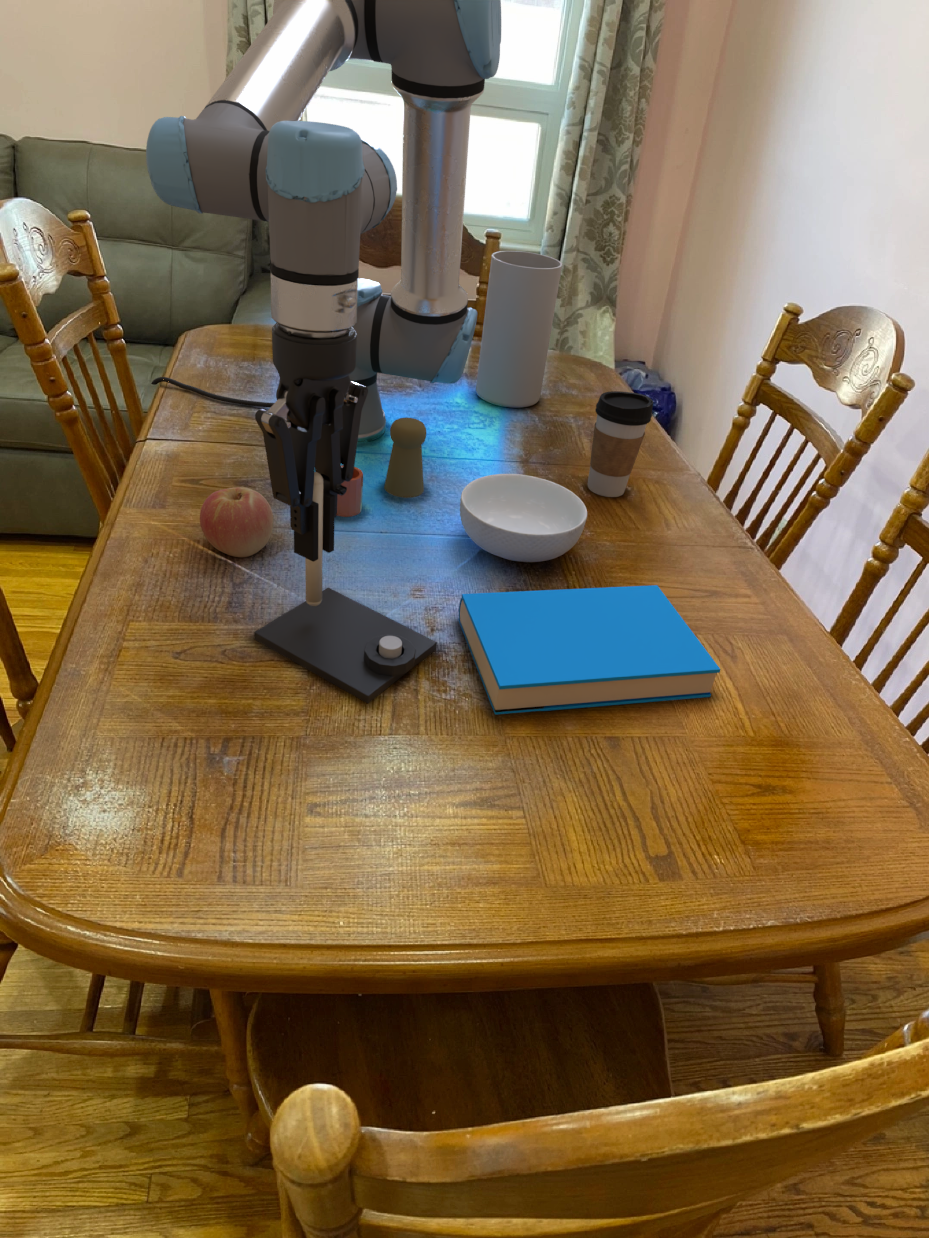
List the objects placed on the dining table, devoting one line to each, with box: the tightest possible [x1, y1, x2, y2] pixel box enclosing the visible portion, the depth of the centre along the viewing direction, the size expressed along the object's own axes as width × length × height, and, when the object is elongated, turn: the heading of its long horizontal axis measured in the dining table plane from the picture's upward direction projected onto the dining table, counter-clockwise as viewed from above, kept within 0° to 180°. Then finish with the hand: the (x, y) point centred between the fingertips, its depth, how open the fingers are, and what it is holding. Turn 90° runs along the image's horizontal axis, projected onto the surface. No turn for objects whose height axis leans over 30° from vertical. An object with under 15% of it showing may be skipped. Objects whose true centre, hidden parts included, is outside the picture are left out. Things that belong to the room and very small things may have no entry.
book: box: [458, 584, 721, 715], centre depth 93 cm, size 17×4×25 cm
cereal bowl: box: [459, 473, 588, 563], centre depth 110 cm, size 17×17×7 cm
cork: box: [384, 417, 427, 499], centre depth 119 cm, size 6×6×11 cm
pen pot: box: [336, 464, 364, 518], centre depth 113 cm, size 5×5×6 cm
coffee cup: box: [587, 390, 654, 498], centre depth 126 cm, size 8×8×15 cm
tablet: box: [253, 587, 438, 704], centre depth 90 cm, size 17×12×2 cm
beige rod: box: [304, 472, 324, 606], centre depth 86 cm, size 2×2×16 cm
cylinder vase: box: [475, 250, 563, 409], centre depth 152 cm, size 12×12×25 cm
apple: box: [199, 486, 275, 558], centre depth 102 cm, size 9×9×8 cm
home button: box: [379, 636, 402, 659], centre depth 87 cm, size 2×2×1 cm
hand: (314, 551), depth 87 cm, fingers closed on beige rod, 2 cm apart
